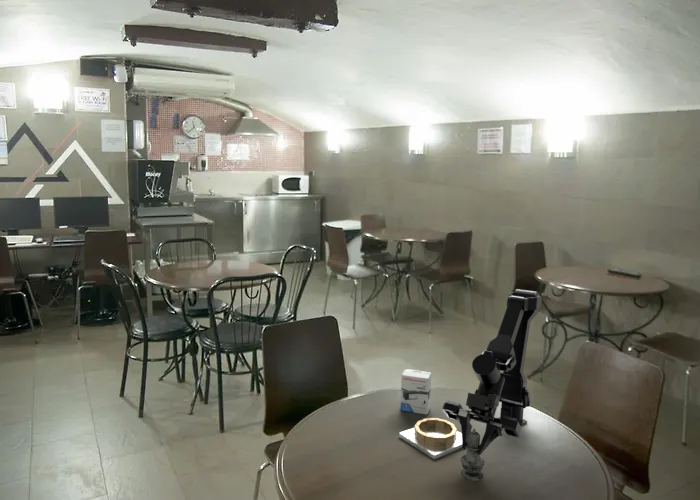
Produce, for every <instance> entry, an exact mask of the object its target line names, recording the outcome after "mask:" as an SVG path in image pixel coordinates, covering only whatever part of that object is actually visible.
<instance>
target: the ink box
mask: <svg viewBox="0 0 700 500" xmlns="http://www.w3.org/2000/svg"><path fill="white" fill-rule="evenodd" d="M400 380H401V383H400V385H401V386H400V407H399V408H400V411H401V412H407V413H408V412H409V413H414V414H420V415H428V413H429V411H430V409H431V395H432V394H431V393H432V392H431V390H432V389H431V388H432V372H429V371H422V370H418V369H417V370H415V369H410V368H409V369H408V368H406V369H404V370H403V371H402V373H401V379H400Z"/></svg>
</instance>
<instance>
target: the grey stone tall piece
mask: <svg viewBox="0 0 700 500" xmlns="http://www.w3.org/2000/svg"><path fill="white" fill-rule="evenodd" d="M480 444H481V435H480V433H479V432H478V431H476V429H475V428H473V429H472V430H471V432H469V433H468V443H467V444H466V454H463V455H462V456H460V459H459V460H460V462H461V466H462V468H463V469H461V472H460V474H461V476H462V477H463V478H464V479H466V480H469V481H480V480H482V479H483V478H484V473H483V469H484V466H485V464H486V461H485V459H484V458H483V457H482V456H481V455H479V454H478V451H479V447H480Z"/></svg>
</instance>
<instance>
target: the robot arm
mask: <svg viewBox="0 0 700 500" xmlns="http://www.w3.org/2000/svg"><path fill="white" fill-rule="evenodd" d="M542 298H543V297H542V296H541V295H539V292H538V291H534V290H527V289H520V288H519V289H518V288H516V289H515V291H511V292H509V293H508V295H507V300H506V308H505V309H506V310H505V312H504V314H503V317H502V321H501V323H500V326H499V330H498V331H497V335H496V337H494V338H493V339H492V340H490V341H489V343H488V345H487V347H486V349H484V351H483V352H481V354H479V355H477V356H476V357H474V359H473V360H472V362H471V363H472V364H471V366H472V370H473V372H474V374H475V376H476V377H477V380H478V381H479V383H478V387H477V388H476V390H475V391H474V393H471V392H468V393H467V398H466V403H465V406H467V407H468V409H469V410H467V409H465V408H463V407H462V405H461V403H458V402H455V401H450V400H447V401H445V402H444V403H443V405H442V409H441V410H442V412H443V413H444V415H445V417H447V418H448V419H450V420H453V421H457V422H458V423H459V425H460V429H461V434H462V448H461V449H462V450H463V451H465V450H466V449H467V447H466V444H467V443H468V433H469V432H471V431H472V430H473V429H472V428H473V425H472V424H471V421H472V420H473V421H475V422H478V423H483V424H486V427H485V432H484V434H483V437H482V440H481V441H480V447H479V451H478V454H479V455H480V456H482V453H484V452H485V450H486V449H487V448H488V447H489V445H491V444H492V442H493V441H494V440H496V439H497V438H498V437H503V430H504V432H505V433H506V435H507V436H510V437H511V436H512V437H514V438H520V436H521V433H522V426H524V425H525V424H528V420H525V419H524V409H526V408H527V407H530V406H531V393H530V392H529V391H530V390H529V388H528V380H527V377H526V375H525V373H524V365H525V359H526V354H527V353H526V352H527V348H528V340H529V336H530V335H529V334H530V327H531V322H532V321H533V320H534V319H535V317H536V316H537V315H538V314H539V313H538V312H539V309H540V308H541V306H542V300H543V299H542ZM502 371H503V372H502ZM500 403H501V405H500V406H501V408H500V412H499V413H500V415H499V417H495V415H496V413H497V408H498V407H499V404H500Z"/></svg>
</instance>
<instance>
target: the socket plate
mask: <svg viewBox="0 0 700 500" xmlns="http://www.w3.org/2000/svg"><path fill="white" fill-rule="evenodd" d="M398 437H399V438H400V439H401V440H403V441H405V442H406V443H408V444H409V445H411V446H412V447H415V448H416V449H417V450H419V451H420V452H422V453H424V454H425V455H427V457H430V458H431V459H433V460H437V459H439V458H441V457H444V456H446V455H449V454H451V453H454V452H456V451H458V450H461V449H462V432H460V431H458V428H457V427H456V426H455V423H453V422H450V421H449V420H447V419H443V418H439V417H427V418H422V419H419V420H417V422H416V423H415V425H414V427H411V428H409V429H406V430H404V431H400V432H399V433H398Z"/></svg>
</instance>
